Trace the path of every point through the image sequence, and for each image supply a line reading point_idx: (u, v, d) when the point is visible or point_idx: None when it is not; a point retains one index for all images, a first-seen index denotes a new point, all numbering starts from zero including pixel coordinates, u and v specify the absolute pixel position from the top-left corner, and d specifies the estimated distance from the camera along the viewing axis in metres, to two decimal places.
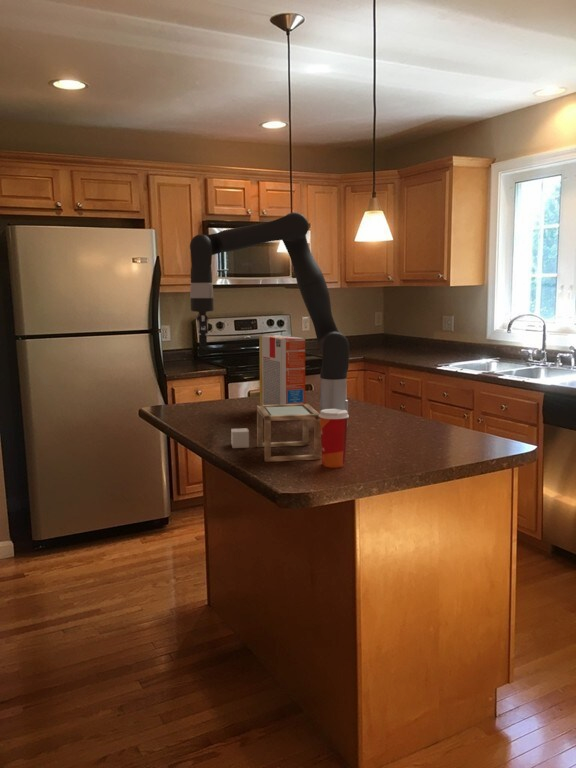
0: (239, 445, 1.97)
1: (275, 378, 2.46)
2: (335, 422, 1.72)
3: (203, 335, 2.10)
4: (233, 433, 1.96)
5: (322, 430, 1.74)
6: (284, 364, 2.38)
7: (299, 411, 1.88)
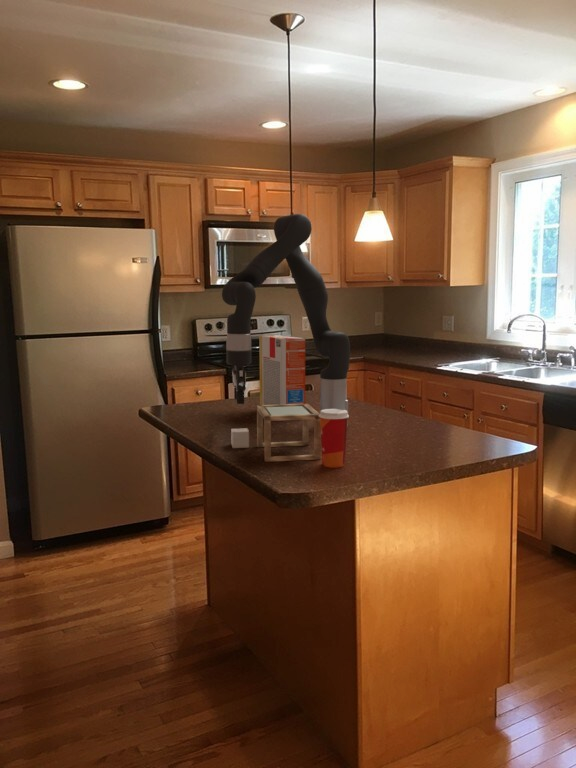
0: (239, 445, 1.97)
1: (275, 378, 2.46)
2: (335, 422, 1.72)
3: (241, 391, 1.92)
4: (233, 433, 1.96)
5: (322, 430, 1.74)
6: (284, 364, 2.38)
7: (299, 411, 1.88)
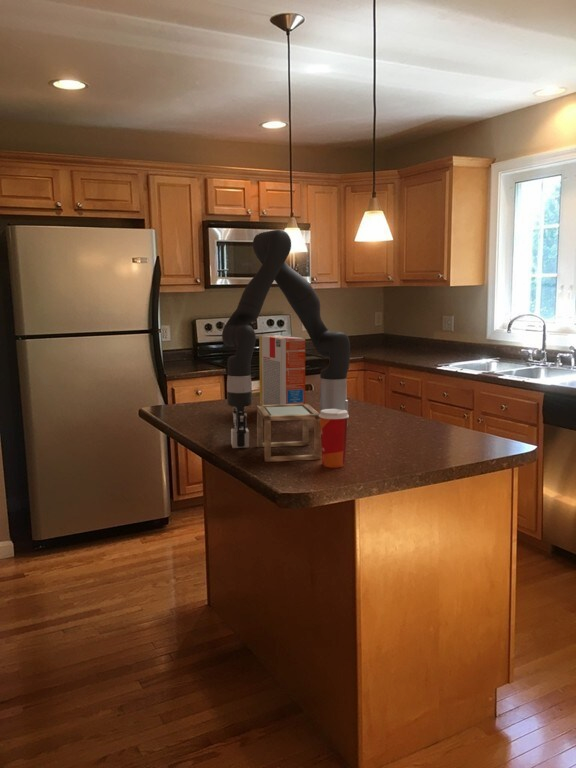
0: None
1: (275, 378, 2.46)
2: (335, 422, 1.72)
3: (241, 435, 1.95)
4: (233, 433, 1.96)
5: (322, 430, 1.74)
6: (284, 364, 2.38)
7: (299, 411, 1.88)
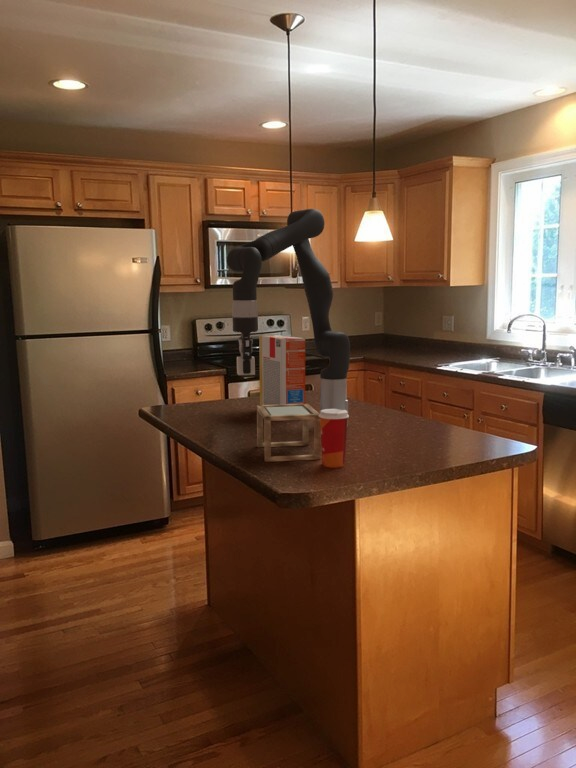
0: None
1: (275, 378, 2.46)
2: (335, 422, 1.72)
3: (247, 361, 1.91)
4: (238, 359, 1.92)
5: (322, 430, 1.74)
6: (284, 364, 2.38)
7: (299, 411, 1.88)
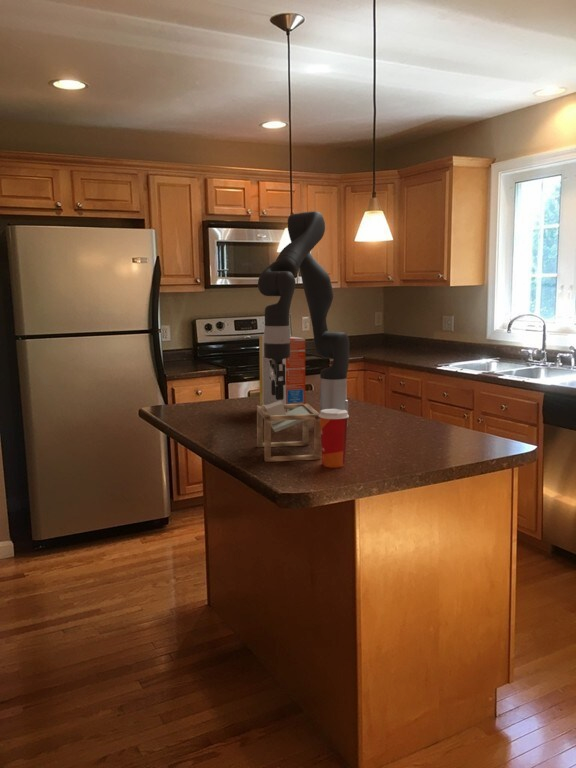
0: (277, 420, 1.87)
1: None
2: (335, 422, 1.72)
3: (280, 386, 1.82)
4: (267, 409, 1.86)
5: (322, 430, 1.74)
6: None
7: None
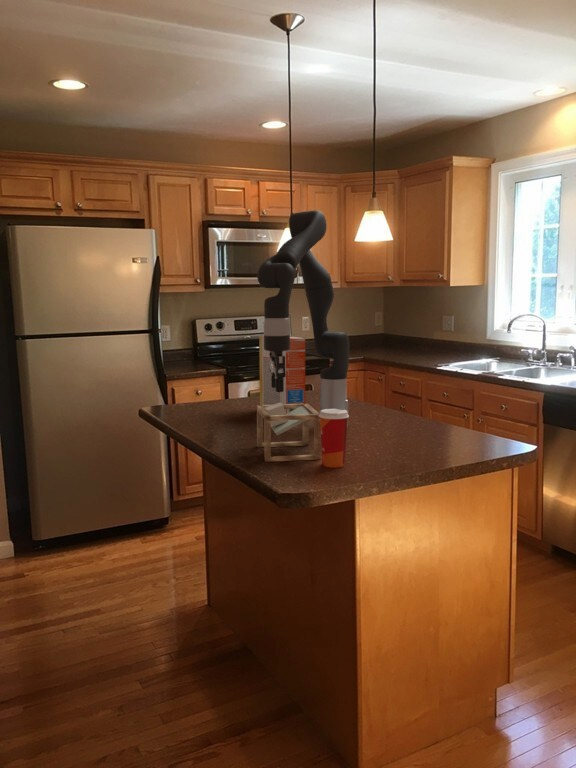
0: (277, 422, 1.87)
1: None
2: (335, 422, 1.72)
3: (280, 379, 1.82)
4: (268, 411, 1.86)
5: (322, 430, 1.74)
6: None
7: None
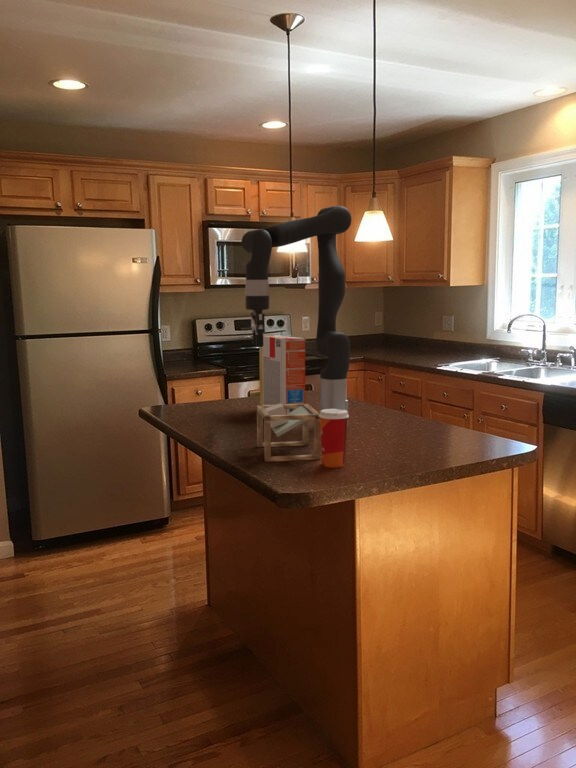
0: (278, 423, 1.87)
1: (275, 378, 2.46)
2: (335, 422, 1.72)
3: (260, 334, 2.01)
4: (268, 412, 1.86)
5: (322, 430, 1.74)
6: (284, 364, 2.38)
7: None
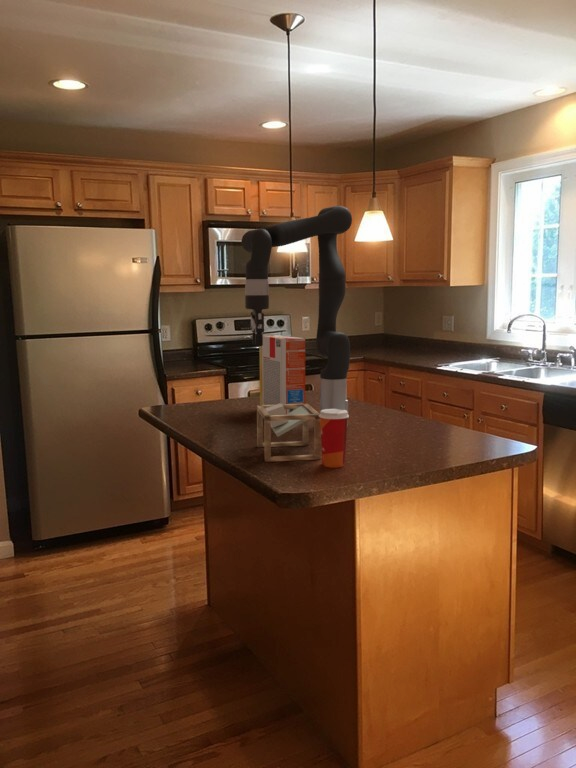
0: (278, 423, 1.87)
1: (275, 378, 2.46)
2: (335, 422, 1.72)
3: (259, 334, 2.02)
4: (268, 412, 1.86)
5: (322, 430, 1.74)
6: (284, 364, 2.38)
7: None
